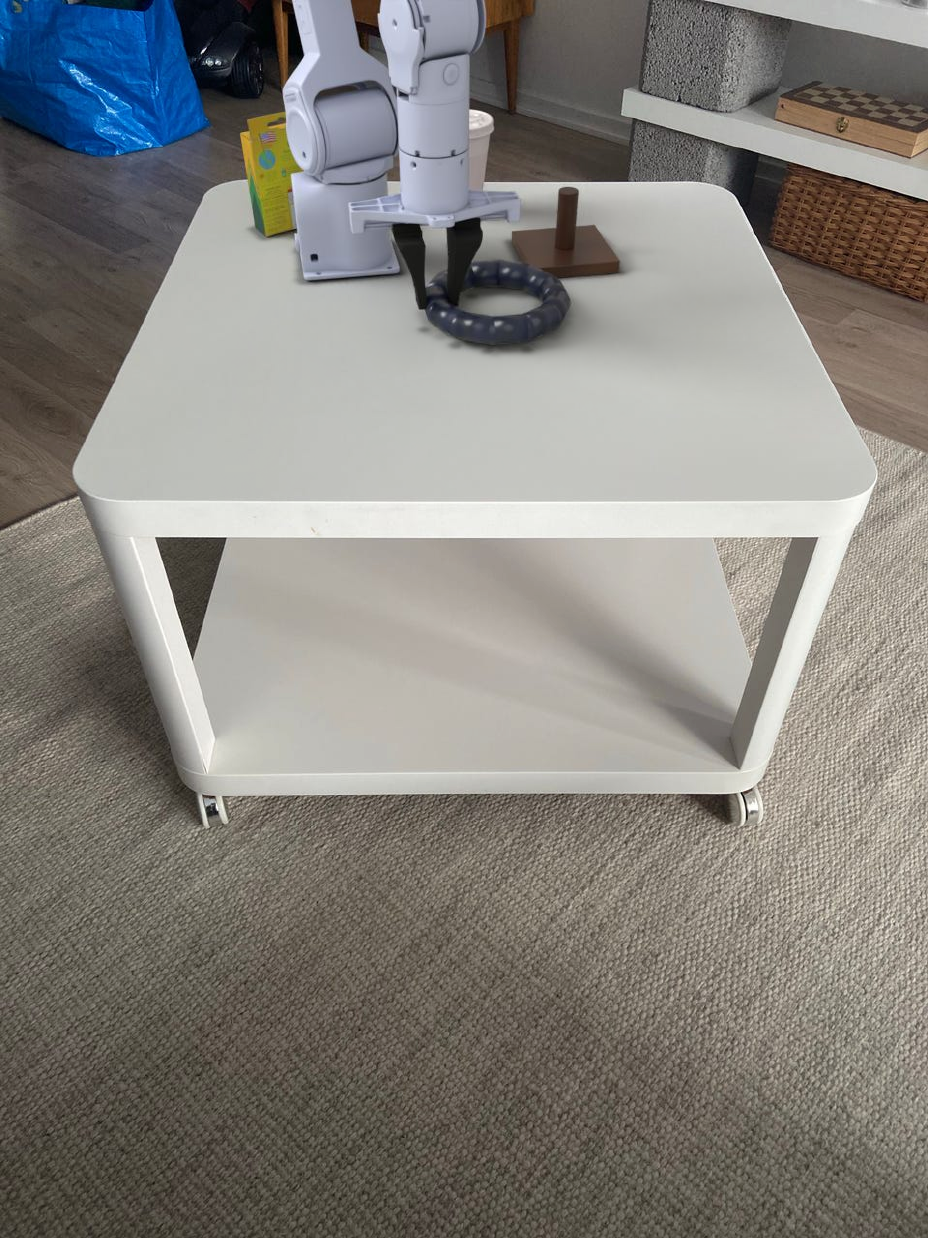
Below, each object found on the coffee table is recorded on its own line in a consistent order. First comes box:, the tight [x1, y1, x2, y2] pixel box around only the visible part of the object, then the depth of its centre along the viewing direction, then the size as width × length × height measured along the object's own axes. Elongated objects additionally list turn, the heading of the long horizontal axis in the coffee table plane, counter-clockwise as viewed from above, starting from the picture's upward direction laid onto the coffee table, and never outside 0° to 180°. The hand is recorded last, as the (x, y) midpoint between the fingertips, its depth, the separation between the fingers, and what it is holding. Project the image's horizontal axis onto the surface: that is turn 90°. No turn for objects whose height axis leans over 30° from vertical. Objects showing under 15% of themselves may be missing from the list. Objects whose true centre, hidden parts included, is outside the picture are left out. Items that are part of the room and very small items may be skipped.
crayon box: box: [239, 111, 303, 238], centre depth 101 cm, size 7×3×12 cm, turn 123°
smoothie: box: [469, 109, 495, 190], centre depth 103 cm, size 6×6×14 cm
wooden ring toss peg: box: [510, 186, 621, 279], centre depth 97 cm, size 9×9×7 cm
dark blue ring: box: [424, 259, 572, 346], centre depth 89 cm, size 13×13×2 cm
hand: (436, 303), depth 89 cm, fingers closed on dark blue ring, 2 cm apart
